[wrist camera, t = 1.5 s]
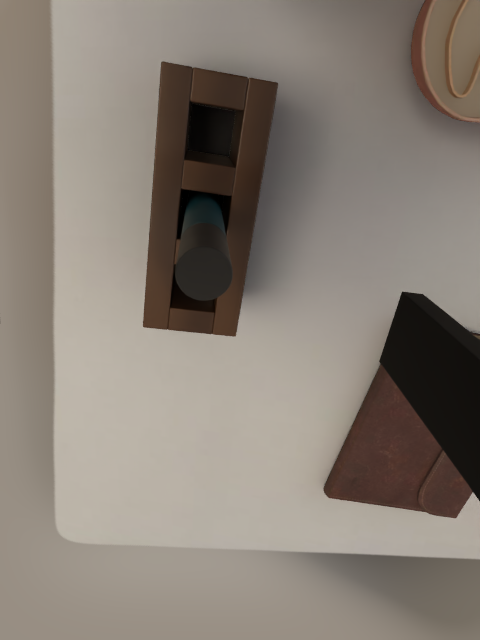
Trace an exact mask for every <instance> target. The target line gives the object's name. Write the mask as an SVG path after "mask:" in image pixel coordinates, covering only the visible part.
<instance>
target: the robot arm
mask: <svg viewBox="0 0 480 640" xmlns="http://www.w3.org/2000/svg"><path fill="white" fill-rule="evenodd" d="M379 362H380V363H381V365H382V366H383V367H384V369H385V370H386V371H387V373H388V374H389V376H390V377H391V378H392V380H393V381H394V383H395V384H396V385H397V387H398V388H399V390H400V391H401V392H402V394H403V395H404V396H405V398H406V399H407V401H408V402H409V403H410V405H411V406H412V408H413V409H414V410H415V412H416V413H417V415H418V416H419V417H420V419H421V420H422V421H423V423H424V424H425V426H426V427H427V428H428V430H429V431H430V433H431V434H432V435H433V437H434V438H435V440H436V441H437V442H438V444H439V445H440V446H441V448H442V449H443V451H444V452H445V453H446V455H447V456H448V458H449V459H450V460H451V462H452V463H453V465H454V466H455V467H456V469H457V470H458V471H459V473H460V474H461V476H462V477H463V478H464V480H465V481H466V483H467V484H468V485H469V487H470V488H471V490H472V491H473V492H474V494H475V495H476V497H477V498H478V499H479V501H480V340H479V339H478V338H477V337H475V336H474V335H473V334H472V333H470V332H469V331H468V330H467V329H465V328H464V327H463V326H462V325H460V324H459V323H458V322H457V321H455V320H454V319H453V318H452V317H451V316H449V315H448V314H447V313H446V312H444V311H443V310H442V309H441V308H439V307H438V306H437V305H436V304H434V303H433V302H432V301H431V300H429V299H428V298H427V297H426V296H424V295H423V294H417V293H409V292H402V294H401V297H400V300H399V303H398V306H397V309H396V312H395V315H394V318H393V321H392V324H391V327H390V330H389V333H388V337H387V340H386V343H385V346H384V349H383V352H382V355H381V358H380V361H379Z"/></svg>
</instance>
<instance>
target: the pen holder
mask: <svg viewBox="0 0 480 640" xmlns="http://www.w3.org/2000/svg"><path fill="white" fill-rule="evenodd" d="M277 89H278V83H276V82H271V81H266V80H260V79H255V78H247V77H244V76H238V75H233V74H227V73H222V72H217V71H211V70H206V69H200V68H192V67H190V66H184V65H179V64H173V63H168V62H162V63H161V74H160V88H159V103H158V117H157V132H156V146H155V160H154V175H153V189H152V203H151V218H150V232H149V247H148V261H147V275H146V290H145V304H144V319H143V327H146V328H156V329H166V330H167V329H168V330H176V331H186V332H196V333H205V334H215V335H225V336H236V332H237V326H238V320H239V314H240V308H241V302H242V296H243V290H244V284H245V278H246V273H247V267H248V261H249V255H250V249H251V243H252V237H253V231H254V225H255V219H256V213H257V207H258V201H259V195H260V189H261V184H262V178H263V172H264V166H265V160H266V154H267V148H268V142H269V136H270V130H271V124H272V118H273V112H274V106H275V101H276V95H277ZM192 103H193V104H195V105H201V106H207V107H212V108H218V109H224V110H230V111H235V117H234V124H233V131H232V139H231V146H230V154H229V157H228V156H223V155H216V154H210V153H204V152H197V151H191V150H188V143H189V133H190V123H191V113H192ZM184 189H185V190H192V191H199V192H206V193H213V194H220V195H224V198H223V205H222V217H223V222H224V227H225V233H226V238H227V243H228V248H229V253H230V259H231V264H232V269H233V278H232V282H231V284H230V286H229V288H228V289H227V291H226V292H225V293H224V294H222V295H221V296H219V297H217V298H215V299H212V300H206V301H203V300H196V299H193V298H191V297H189V296H187V295H186V294H185V293H184V292H183V291H182V290H181V289H180V288H179V286H178V284H177V281H176V278H175V269H176V263H177V257H178V251H179V246H180V240H181V234H182V228H183V223H184V217H185V215H181V214H182V204H183V194H184Z"/></svg>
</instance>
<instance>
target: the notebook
mask: <svg viewBox="0 0 480 640" xmlns="http://www.w3.org/2000/svg"><path fill="white" fill-rule="evenodd" d="M470 333H471V332H470ZM472 334H473V335H474V336H475V337H477V338H478V339H479V340H480V334H476V333H472ZM472 492H473V491H472V490H471V488H470V487H469V485H468V484H467V483H466V481H465V480H464V478H463V477H462V476H461V474H460V473H459V471H458V470H457V469H456V467H455V466H454V465H453V463H452V462H451V460H450V459H449V458H448V456H447V455H446V453H445V452H444V451H443V449H442V448H441V446H440V445H439V444H438V442H437V441H436V440H435V438H434V437H433V435H432V434H431V433H430V431H429V430H428V428H427V427H426V426H425V424H424V423H423V421H422V420H421V419H420V417H419V416H418V415H417V413H416V412H415V410H414V409H413V408H412V406H411V405H410V403H409V402H408V401H407V399H406V398H405V396H404V395H403V394H402V392H401V391H400V390H399V388H398V387H397V385H396V384H395V383H394V381H393V380H392V378H391V377H390V376H389V374H388V373H387V371H386V370H385V369H384V367H383V366H382V365H380V367H379V369H378V371H377V374H376V376H375V378H374V380H373V382H372V384H371V387H370V389H369V391H368V393H367V395H366V397H365V400H364V402H363V404H362V406H361V408H360V410H359V412H358V415H357V417H356V419H355V421H354V423H353V425H352V428H351V430H350V432H349V434H348V436H347V438H346V441H345V443H344V445H343V447H342V449H341V451H340V454H339V456H338V458H337V460H336V462H335V464H334V467H333V469H332V471H331V473H330V475H329V477H328V480H327V482H326V484H325V486H324V493H325V494H326V495H327V496H328V497H329V498H333V499H340V500H347V501H354V502H361V503H367V504H374V505H381V506H388V507H395V508H402V509H409V510H415V511H422V512H427V513H429V514H432V515H436V516H443V517H451V518H456V517H457V516H458V514H459V513H460V511H461V509H462V508H463V506H464V505H465V503H466V502H467V500H468V499H469V497H470V496H471V494H472Z"/></svg>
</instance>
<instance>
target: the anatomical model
mask: <svg viewBox="0 0 480 640" xmlns="http://www.w3.org/2000/svg"><path fill="white" fill-rule="evenodd" d="M411 59H412V68H413V73H414V76H415V79H416V82H417V85H418V87H419V88H420V90H421V92H422V93H423V95H424V96H425V98H426V99H427V100H428V101H429V102H430V103H431V104H432V105H433V106H434V107H435V108H436V109H438V110H439V111H441V112H442V113H444V114H446V115H448V116H450V117H451V118H454V119H457V120H461V121H467V122H479V123H480V0H425V2H424V4H423V6H422V8H421V10H420V12H419V15H418V17H417V20H416V23H415V27H414V30H413V37H412V44H411Z"/></svg>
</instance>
